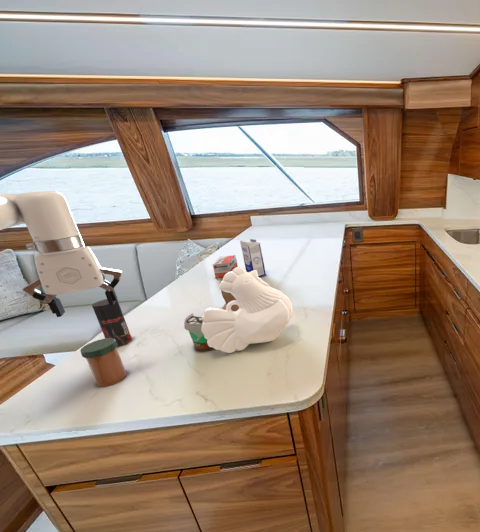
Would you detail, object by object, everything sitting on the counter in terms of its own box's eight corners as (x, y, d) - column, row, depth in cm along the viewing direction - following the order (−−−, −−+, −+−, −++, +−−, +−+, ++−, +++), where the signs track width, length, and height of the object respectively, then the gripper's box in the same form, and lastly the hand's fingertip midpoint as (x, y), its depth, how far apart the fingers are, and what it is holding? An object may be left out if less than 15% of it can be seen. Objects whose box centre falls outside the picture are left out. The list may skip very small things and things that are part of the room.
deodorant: (129, 344, 98) (114, 303, 94) (105, 349, 96) (88, 308, 91) (133, 335, 103) (119, 296, 98) (111, 341, 101) (95, 301, 96)
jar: (95, 389, 78) (80, 356, 75) (99, 377, 83) (86, 345, 79) (125, 380, 81) (112, 347, 78) (128, 369, 86) (115, 337, 83)
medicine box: (222, 269, 169) (219, 256, 167) (238, 267, 171) (235, 254, 169) (215, 278, 156) (211, 264, 153) (232, 276, 158) (229, 262, 155)
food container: (181, 349, 95) (172, 322, 91) (198, 339, 100) (191, 313, 97) (210, 356, 91) (203, 327, 88) (227, 345, 97) (220, 317, 93)
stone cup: (249, 318, 114) (241, 281, 109) (215, 321, 112) (206, 284, 107) (259, 301, 128) (252, 268, 123) (229, 304, 126) (221, 271, 121)
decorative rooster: (300, 304, 109) (245, 256, 100) (302, 315, 94) (238, 261, 86) (248, 356, 104) (186, 311, 96) (242, 377, 90) (168, 325, 81)
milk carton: (247, 276, 157) (239, 240, 151) (259, 273, 162) (252, 237, 156) (254, 279, 153) (246, 241, 146) (266, 275, 158) (259, 239, 151)
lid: (79, 361, 75) (76, 355, 74) (86, 349, 80) (83, 343, 79) (115, 352, 78) (113, 346, 78) (119, 340, 84) (117, 335, 83)
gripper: (-3, 255, 63) (32, 325, 69) (106, 241, 72) (129, 304, 78) (12, 248, 69) (44, 313, 75) (112, 236, 78) (133, 295, 84)
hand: (88, 309), depth 76 cm, fingers open, 9 cm apart
